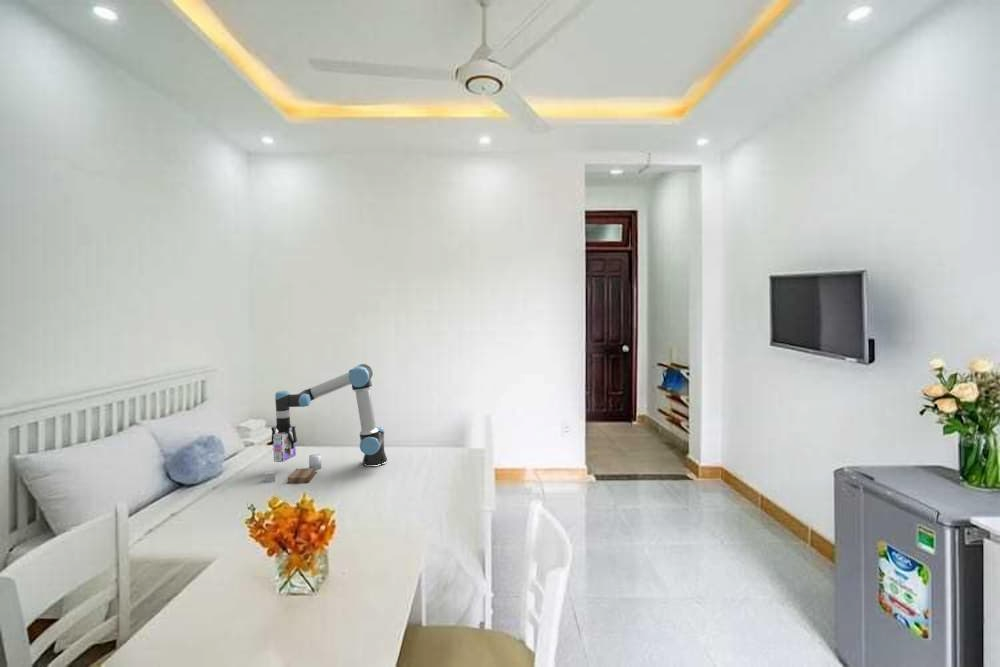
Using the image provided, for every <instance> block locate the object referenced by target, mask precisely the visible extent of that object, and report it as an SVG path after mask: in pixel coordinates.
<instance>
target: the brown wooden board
mask: <svg viewBox="0 0 1000 667" xmlns="http://www.w3.org/2000/svg"><path fill="white" fill-rule="evenodd" d="M317 473H318V472H317V470H316V468H309V467H308V468H307V467H306V468H296V469H295V470H294V471H293V472H292V473H291V474H290V475H289V476H288V477H287V482H286V484H309V483H310V482H311V481H312V480H313V478H314V477H315V476H316V474H317Z"/></svg>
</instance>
